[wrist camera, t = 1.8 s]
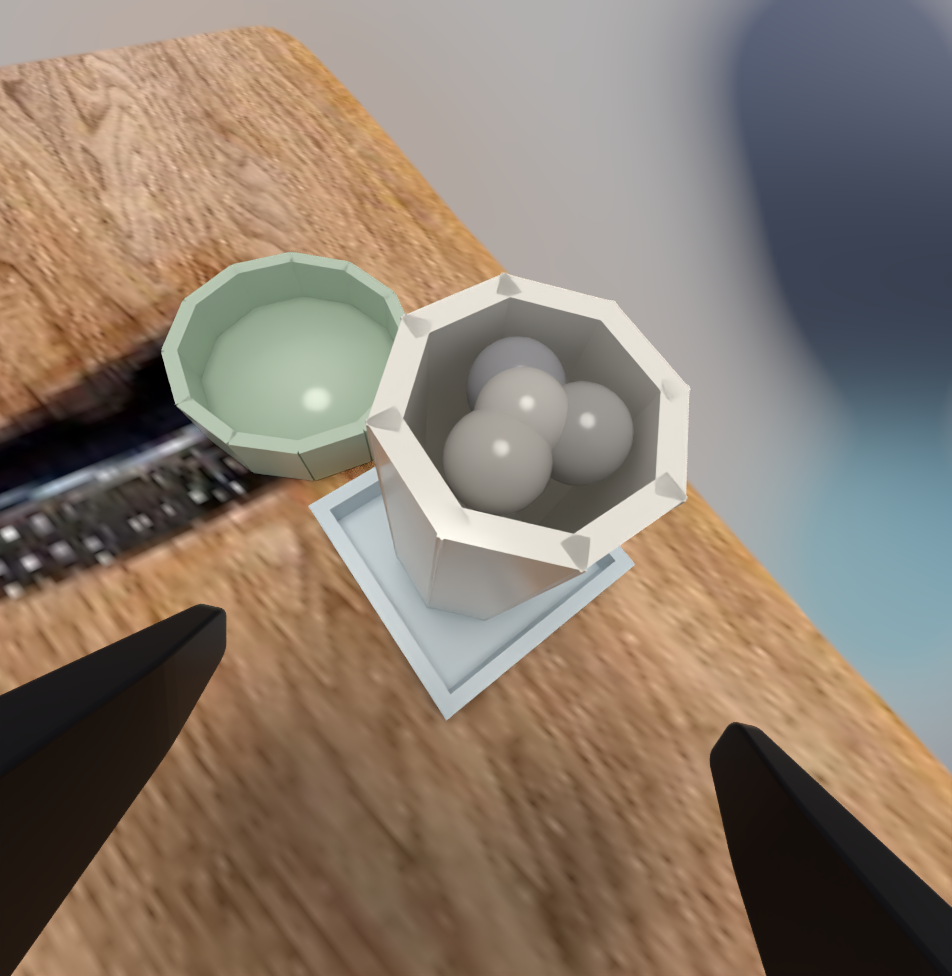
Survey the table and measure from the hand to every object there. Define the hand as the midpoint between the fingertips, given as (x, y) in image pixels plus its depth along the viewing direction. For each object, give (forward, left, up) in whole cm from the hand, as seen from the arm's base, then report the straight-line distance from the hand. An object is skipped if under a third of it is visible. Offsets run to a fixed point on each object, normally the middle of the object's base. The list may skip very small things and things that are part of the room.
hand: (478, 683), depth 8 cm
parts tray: (+5, -1, -12) cm, 13 cm away
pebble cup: (+5, -1, -11) cm, 12 cm away
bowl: (+13, +8, -12) cm, 19 cm away
